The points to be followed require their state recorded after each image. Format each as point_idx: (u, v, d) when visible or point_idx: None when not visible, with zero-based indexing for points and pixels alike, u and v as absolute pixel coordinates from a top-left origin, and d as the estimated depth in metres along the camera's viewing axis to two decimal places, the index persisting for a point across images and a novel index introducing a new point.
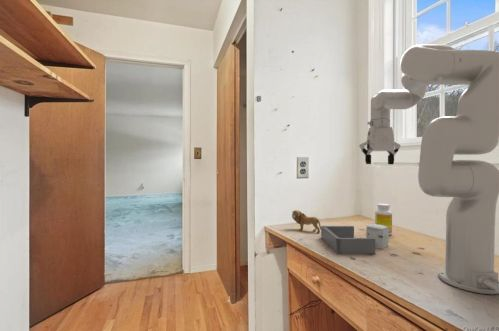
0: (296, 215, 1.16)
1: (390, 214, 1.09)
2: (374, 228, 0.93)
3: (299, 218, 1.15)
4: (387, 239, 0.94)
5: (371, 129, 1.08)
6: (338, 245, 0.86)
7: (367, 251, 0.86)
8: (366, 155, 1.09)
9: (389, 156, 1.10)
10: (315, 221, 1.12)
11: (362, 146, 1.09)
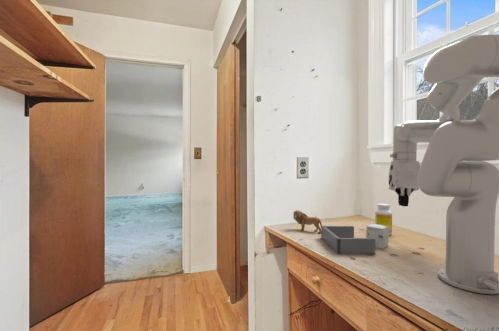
0: (297, 215, 1.15)
1: (390, 214, 1.09)
2: (374, 228, 0.93)
3: (300, 218, 1.15)
4: (387, 239, 0.94)
5: (394, 163, 0.94)
6: (338, 245, 0.86)
7: (367, 251, 0.86)
8: (400, 196, 0.96)
9: None
10: (316, 221, 1.11)
11: (393, 188, 0.95)
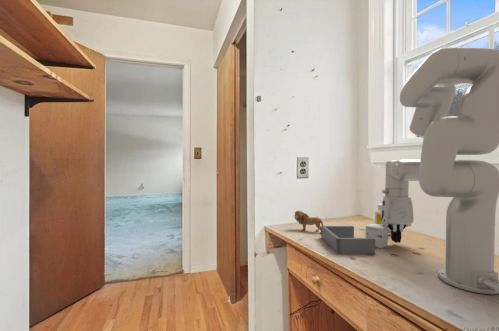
0: (299, 215, 1.15)
1: None
2: (373, 228, 0.93)
3: (302, 218, 1.15)
4: (386, 239, 0.94)
5: (386, 199, 0.94)
6: (338, 245, 0.86)
7: (367, 251, 0.86)
8: (392, 231, 0.95)
9: None
10: (318, 221, 1.11)
11: (385, 224, 0.95)
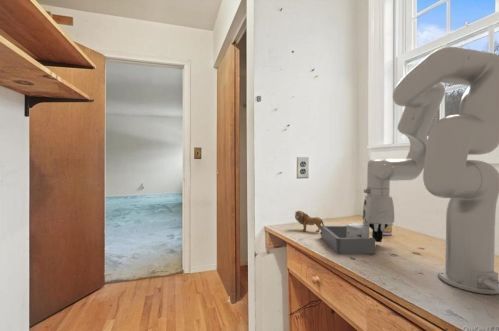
0: (299, 216, 1.15)
1: None
2: (353, 227, 0.94)
3: (302, 219, 1.14)
4: None
5: (367, 199, 0.94)
6: (338, 245, 0.86)
7: (367, 251, 0.86)
8: (373, 231, 0.96)
9: None
10: (319, 221, 1.11)
11: (366, 224, 0.95)
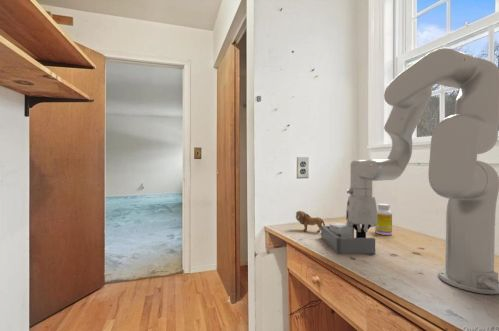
0: (300, 216, 1.14)
1: (390, 214, 1.09)
2: (335, 226, 0.95)
3: (303, 219, 1.14)
4: None
5: (350, 199, 0.94)
6: (338, 245, 0.86)
7: (367, 251, 0.86)
8: (357, 232, 0.95)
9: None
10: (320, 222, 1.11)
11: (350, 225, 0.95)
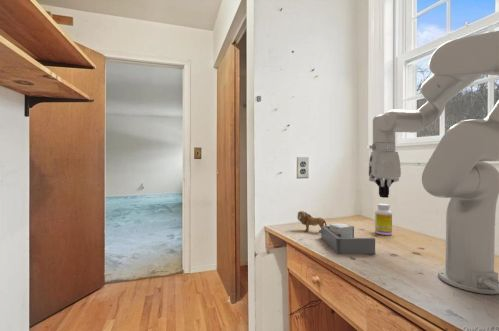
0: (302, 216, 1.14)
1: (390, 214, 1.09)
2: (335, 227, 0.95)
3: (305, 219, 1.14)
4: None
5: (374, 154, 0.94)
6: (338, 245, 0.86)
7: (367, 251, 0.86)
8: (380, 187, 0.95)
9: None
10: (322, 222, 1.10)
11: (373, 180, 0.94)
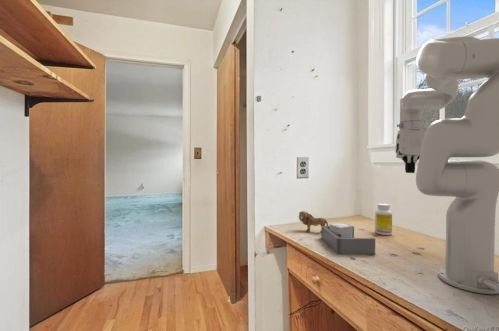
0: (303, 216, 1.13)
1: (390, 214, 1.09)
2: (335, 227, 0.95)
3: (306, 219, 1.13)
4: None
5: (401, 132, 1.00)
6: (338, 245, 0.86)
7: (367, 251, 0.86)
8: (406, 163, 1.01)
9: None
10: (323, 222, 1.10)
11: (400, 156, 1.01)
